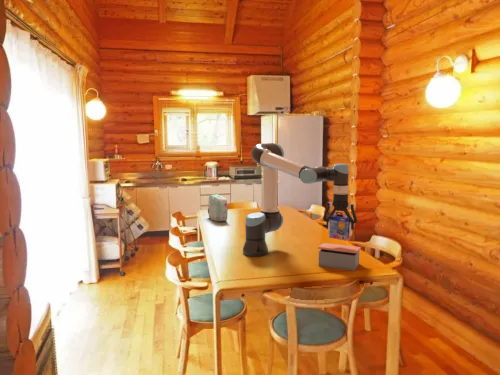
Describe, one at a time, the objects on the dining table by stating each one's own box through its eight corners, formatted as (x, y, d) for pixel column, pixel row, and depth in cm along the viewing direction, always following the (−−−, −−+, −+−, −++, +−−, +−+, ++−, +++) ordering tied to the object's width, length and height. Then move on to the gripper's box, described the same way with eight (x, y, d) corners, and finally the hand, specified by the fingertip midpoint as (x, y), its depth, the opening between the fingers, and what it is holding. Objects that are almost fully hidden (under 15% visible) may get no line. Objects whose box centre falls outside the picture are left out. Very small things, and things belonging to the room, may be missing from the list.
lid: (318, 248, 202) (318, 246, 202) (324, 244, 213) (324, 242, 213) (356, 253, 193) (356, 251, 193) (360, 249, 205) (360, 247, 205)
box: (318, 265, 203) (318, 251, 202) (324, 259, 214) (324, 245, 213) (354, 271, 195) (355, 255, 194) (359, 264, 206) (359, 249, 204)
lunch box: (206, 217, 329) (206, 193, 326) (217, 216, 334) (217, 192, 331) (217, 223, 305) (216, 197, 302) (229, 222, 309) (228, 196, 307)
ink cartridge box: (328, 238, 203) (329, 211, 201) (333, 235, 208) (334, 209, 206) (345, 241, 197) (346, 213, 195) (350, 238, 201) (351, 212, 199)
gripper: (317, 193, 201) (316, 233, 204) (362, 195, 191) (360, 238, 194) (321, 191, 208) (320, 230, 210) (364, 193, 198) (363, 235, 200)
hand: (339, 234), depth 202 cm, fingers closed on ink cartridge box, 10 cm apart
